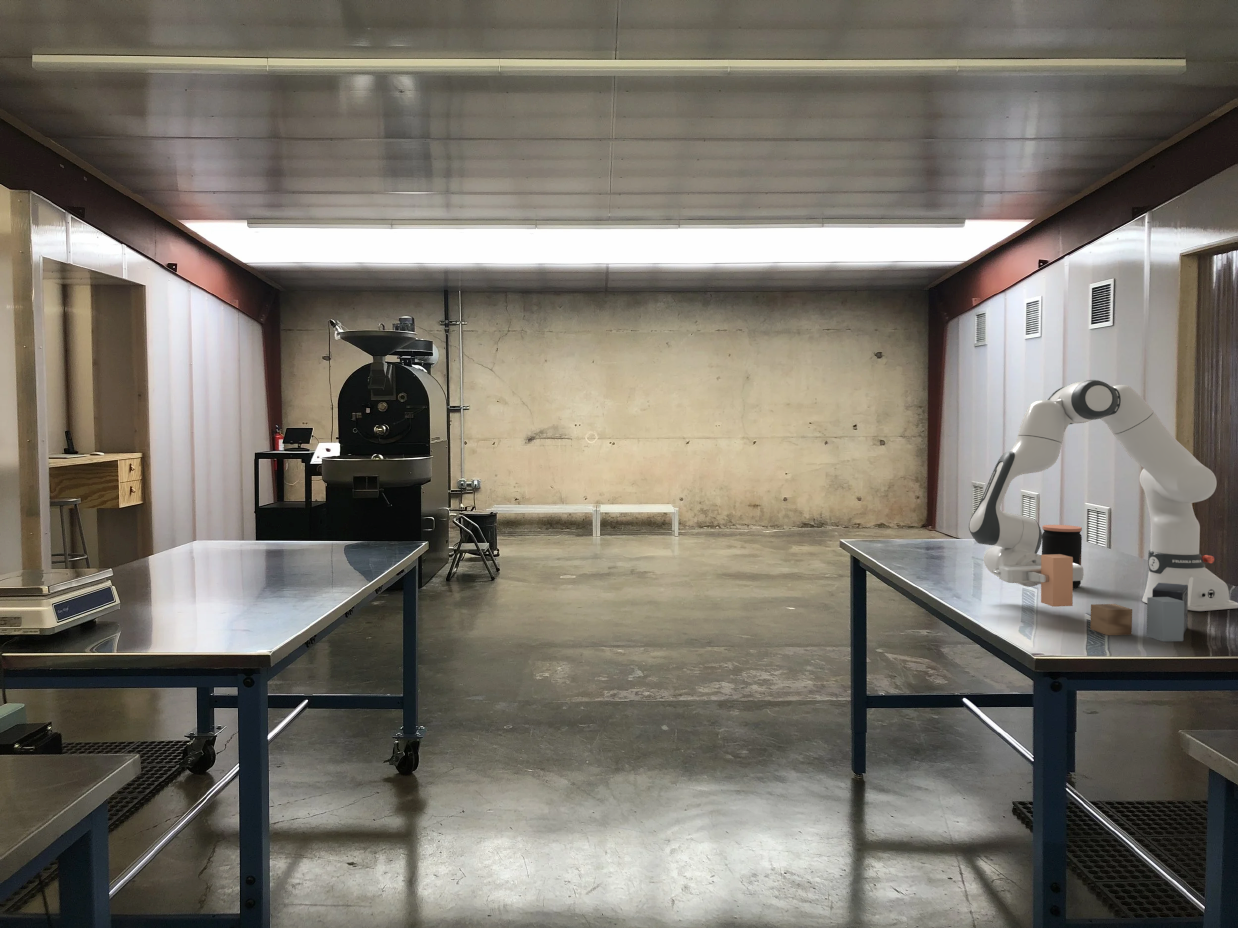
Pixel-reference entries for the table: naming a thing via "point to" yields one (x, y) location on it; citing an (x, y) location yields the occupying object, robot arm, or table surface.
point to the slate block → (1165, 618)
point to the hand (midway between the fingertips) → (1058, 578)
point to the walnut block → (1111, 619)
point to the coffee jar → (1063, 542)
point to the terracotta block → (1057, 580)
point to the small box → (1174, 595)
